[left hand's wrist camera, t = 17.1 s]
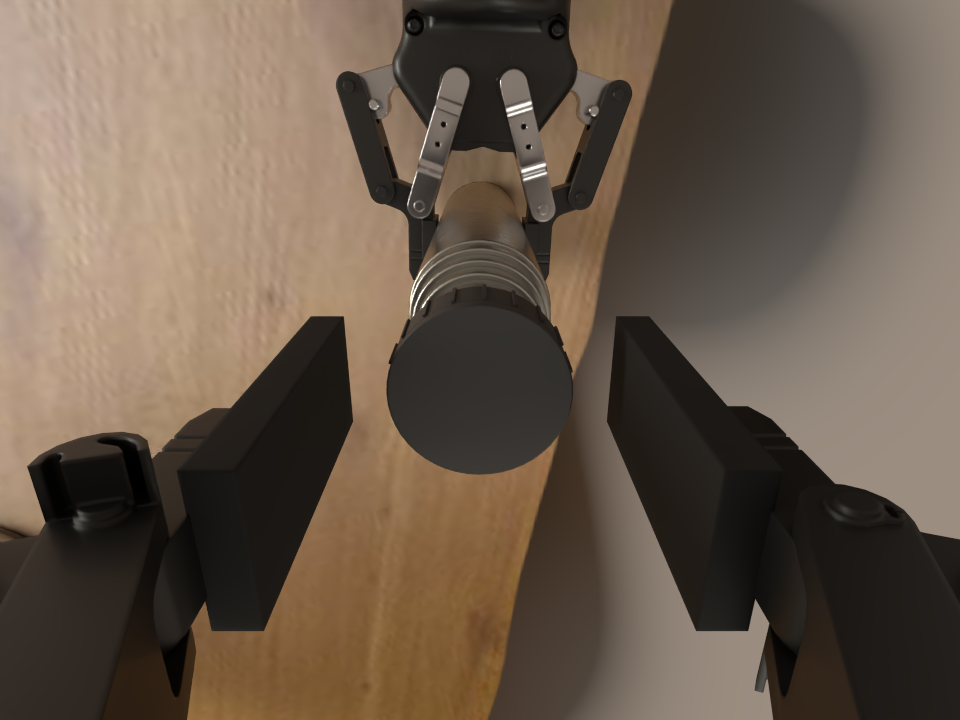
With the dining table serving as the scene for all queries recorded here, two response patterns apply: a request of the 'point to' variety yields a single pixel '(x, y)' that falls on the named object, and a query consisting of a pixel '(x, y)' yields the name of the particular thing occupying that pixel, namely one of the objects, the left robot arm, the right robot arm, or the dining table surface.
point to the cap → (479, 381)
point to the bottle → (479, 250)
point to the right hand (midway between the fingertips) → (479, 287)
